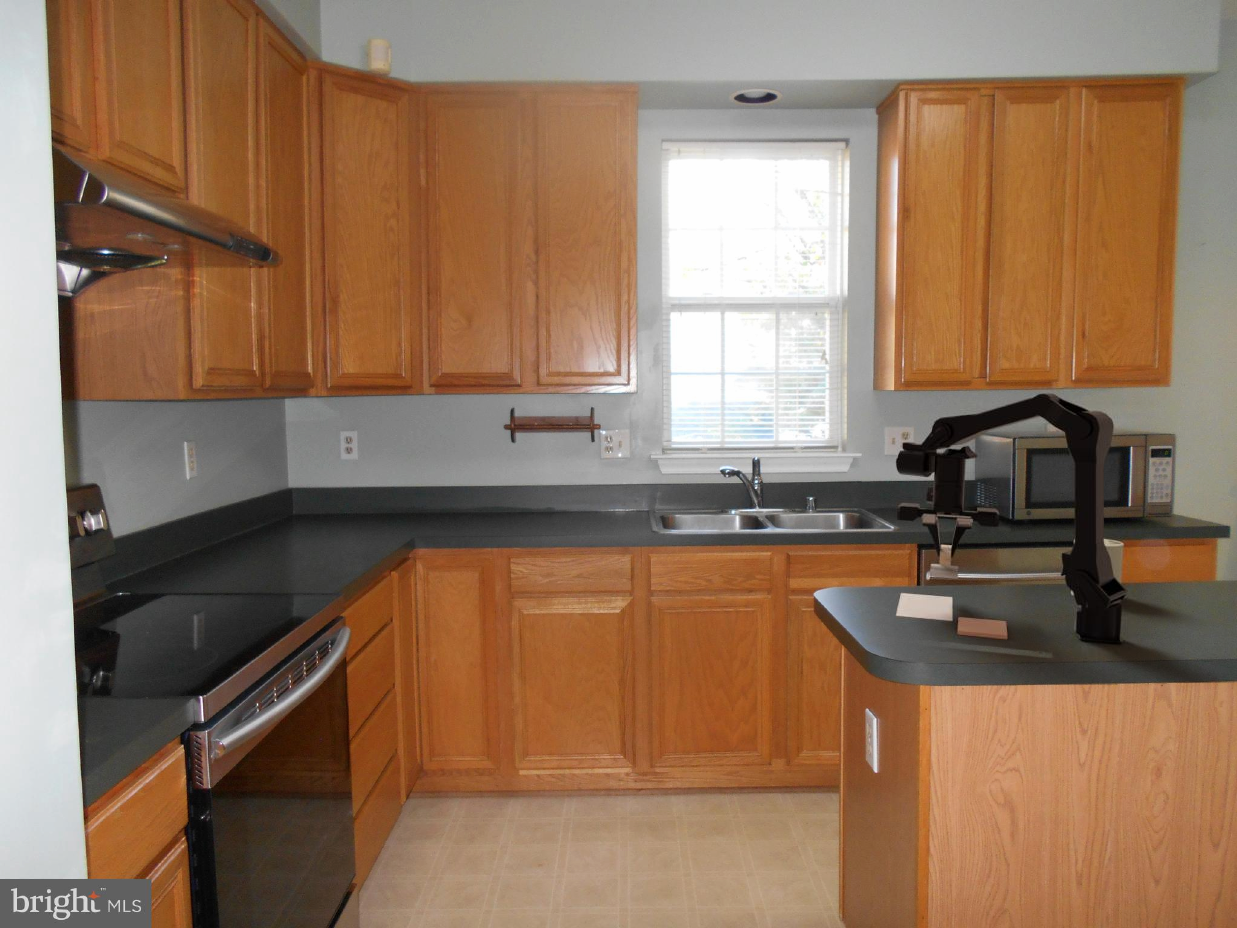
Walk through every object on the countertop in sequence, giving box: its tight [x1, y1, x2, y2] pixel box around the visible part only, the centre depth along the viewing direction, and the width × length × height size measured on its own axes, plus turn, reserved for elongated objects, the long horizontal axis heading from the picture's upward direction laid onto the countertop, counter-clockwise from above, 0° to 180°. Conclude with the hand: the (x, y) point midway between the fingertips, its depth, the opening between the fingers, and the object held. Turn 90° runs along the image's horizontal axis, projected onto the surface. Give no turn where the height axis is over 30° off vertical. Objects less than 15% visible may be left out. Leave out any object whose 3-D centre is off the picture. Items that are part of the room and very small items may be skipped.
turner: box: [929, 544, 959, 579], centre depth 169 cm, size 13×5×4 cm, turn 158°
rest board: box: [895, 592, 953, 622], centre depth 169 cm, size 10×18×1 cm, turn 159°
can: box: [1070, 538, 1125, 597], centre depth 178 cm, size 9×9×12 cm
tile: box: [956, 616, 1008, 640], centre depth 153 cm, size 8×2×9 cm
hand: (945, 556), depth 171 cm, fingers closed on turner, 2 cm apart
